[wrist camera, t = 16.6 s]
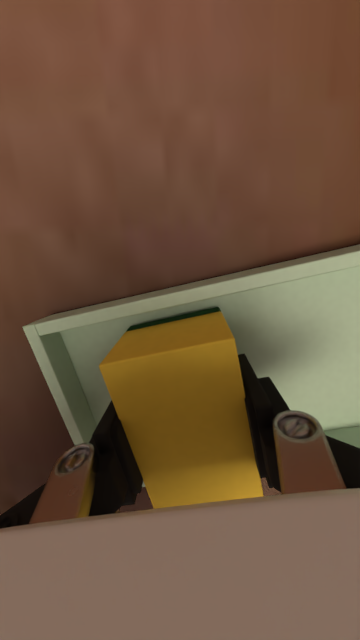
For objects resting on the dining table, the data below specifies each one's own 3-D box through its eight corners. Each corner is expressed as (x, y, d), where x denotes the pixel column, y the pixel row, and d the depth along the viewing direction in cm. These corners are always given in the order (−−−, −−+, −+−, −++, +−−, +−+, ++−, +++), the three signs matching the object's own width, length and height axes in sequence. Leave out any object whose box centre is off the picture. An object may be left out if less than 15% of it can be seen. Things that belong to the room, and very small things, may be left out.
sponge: (165, 435, 13) (154, 512, 9) (129, 325, 11) (97, 365, 7) (242, 423, 13) (264, 499, 9) (219, 306, 11) (235, 337, 7)
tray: (108, 461, 15) (95, 493, 13) (50, 315, 12) (21, 327, 10) (467, 409, 12) (521, 439, 10) (492, 213, 10) (571, 202, 8)
